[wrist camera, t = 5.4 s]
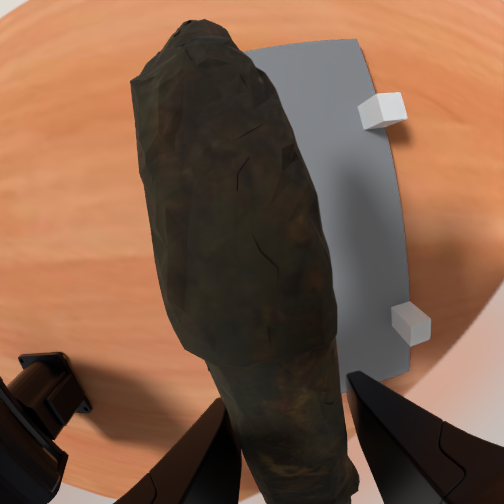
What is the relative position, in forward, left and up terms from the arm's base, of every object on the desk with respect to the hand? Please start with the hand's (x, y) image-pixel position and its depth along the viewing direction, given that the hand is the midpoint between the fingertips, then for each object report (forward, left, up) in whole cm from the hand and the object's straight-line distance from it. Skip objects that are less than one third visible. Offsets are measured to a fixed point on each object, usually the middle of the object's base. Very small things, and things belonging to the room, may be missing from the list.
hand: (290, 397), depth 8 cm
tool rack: (+3, +2, -12) cm, 12 cm away
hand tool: (-1, 0, -2) cm, 2 cm away
